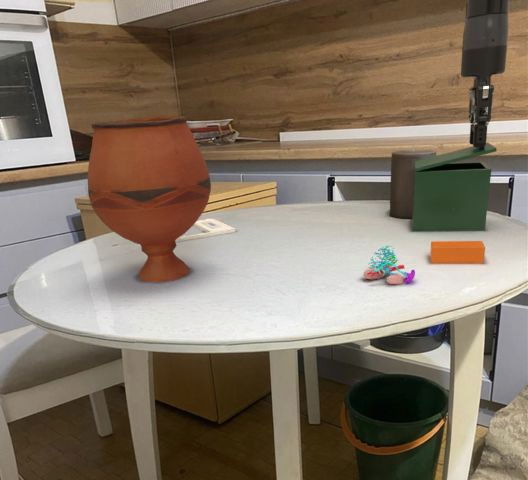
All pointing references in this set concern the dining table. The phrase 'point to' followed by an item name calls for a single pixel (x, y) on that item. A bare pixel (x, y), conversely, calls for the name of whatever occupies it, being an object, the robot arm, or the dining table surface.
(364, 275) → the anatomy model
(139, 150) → the goblet
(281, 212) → the dining table surface
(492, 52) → the robot arm
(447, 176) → the bin
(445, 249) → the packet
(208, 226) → the photo frame
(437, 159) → the bin lid
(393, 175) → the pillar candle
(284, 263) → the dining table surface
